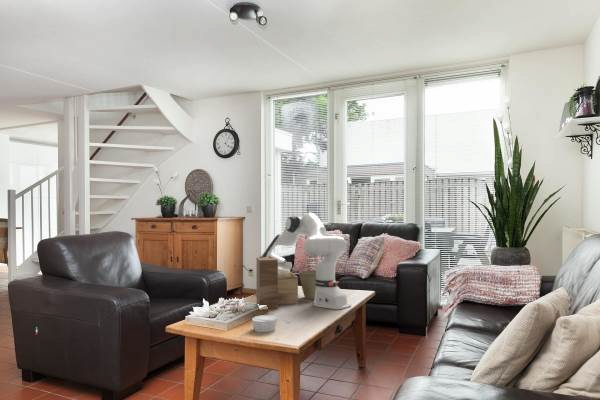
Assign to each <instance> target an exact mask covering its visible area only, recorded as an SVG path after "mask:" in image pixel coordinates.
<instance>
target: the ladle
mask: <svg viewBox="0 0 600 400" xmlns="http://www.w3.org/2000/svg"><path fill="white" fill-rule="evenodd" d="M290 271H291V270H290V269H284V268H282V267H281V266H278V274H279V277H290Z"/></svg>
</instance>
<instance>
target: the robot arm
mask: <svg viewBox="0 0 600 400" xmlns="http://www.w3.org/2000/svg"><path fill="white" fill-rule="evenodd" d="M301 235H302V236H308V238H306V239H305V241H304V243H303V249H304V251H305V253H306V254H307V255H310V256H323V259H322V260H321V261H319V262H318V263H317V264H316V266H315V270H316V279H315V285H316V290H315V297H314V299H313V302H312V304H313V307H319V308H324V309H331V310H343V309H347V308H350V307H352V304H351V303H349V302H348V298H347V295H346V293H345V292H344V291H343V290H342V289H341V288H340V287H339V286H338V283H339V282H340V281H337V280H336V266H337V262H338V260H339V258H340V257H341V256H342V254H344V253H345V251H346V249H347V241H346V239H345V238H344V237H343V236H339V235H327V228H326V227H325V226H324V224H323V222H322V220H321V219H320V217H318V216H317V215H316V214H315V213H313V212H306V213H305V214H304V215H303V216H295V215H293V216H289V217H288V218H286V221H285V227H284V230H283V232H282V233H280V234H277V235H275V237H274V238H273V239H272V241H271V242H270V244H269V245H268V247H267V248H266V250H265V251H264V252H263V253H262V254H261V255H260V257H261V256H262V257H269V256H271V257H275V258H276V259H277V260H278V266H281V267H282V268H284V269H290V271H291V270H292V268H293V264H292V262H291V261H287V260H286V259H285V258H284V257H282V256H279V255H277V254H276V253H273V251H274V250H275V247H277V246H285V247H289V246H290V247H291V246H294V245H295V244H296V243H297V242H298V240H299V238H300V236H301Z"/></svg>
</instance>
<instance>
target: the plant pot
mask: <svg viewBox="0 0 600 400" xmlns="http://www.w3.org/2000/svg"><path fill="white" fill-rule="evenodd" d="M298 273H299V281H300V285H301V286H300V287H301V289H302V293H303V296H304V298H305V299H308V300H314V297H315V290H316V285H315V279H316V269H315V270H314V269H313V270H312V269H308V270H307V269H305V270H300V271H299V272H298Z"/></svg>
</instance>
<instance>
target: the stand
mask: <svg viewBox="0 0 600 400" xmlns="http://www.w3.org/2000/svg"><path fill="white" fill-rule="evenodd" d="M298 303H299V277H298V276H297V275H296V274H294V273H293V272H292V271H291V270H290V277H279V274H278V260H277V259H276V258H275V257H271V256H269V257H262V256H261V255H260V256H257V257H256V305H257V304H259V305H267V307H268V310H267V311H269V310H270V311H273V310H279V308H278V307H279V305H286V304H298Z"/></svg>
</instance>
